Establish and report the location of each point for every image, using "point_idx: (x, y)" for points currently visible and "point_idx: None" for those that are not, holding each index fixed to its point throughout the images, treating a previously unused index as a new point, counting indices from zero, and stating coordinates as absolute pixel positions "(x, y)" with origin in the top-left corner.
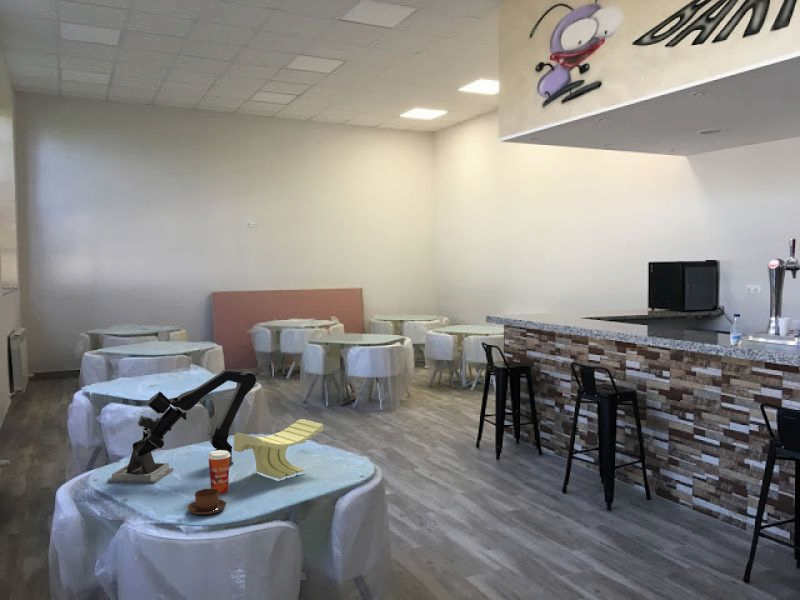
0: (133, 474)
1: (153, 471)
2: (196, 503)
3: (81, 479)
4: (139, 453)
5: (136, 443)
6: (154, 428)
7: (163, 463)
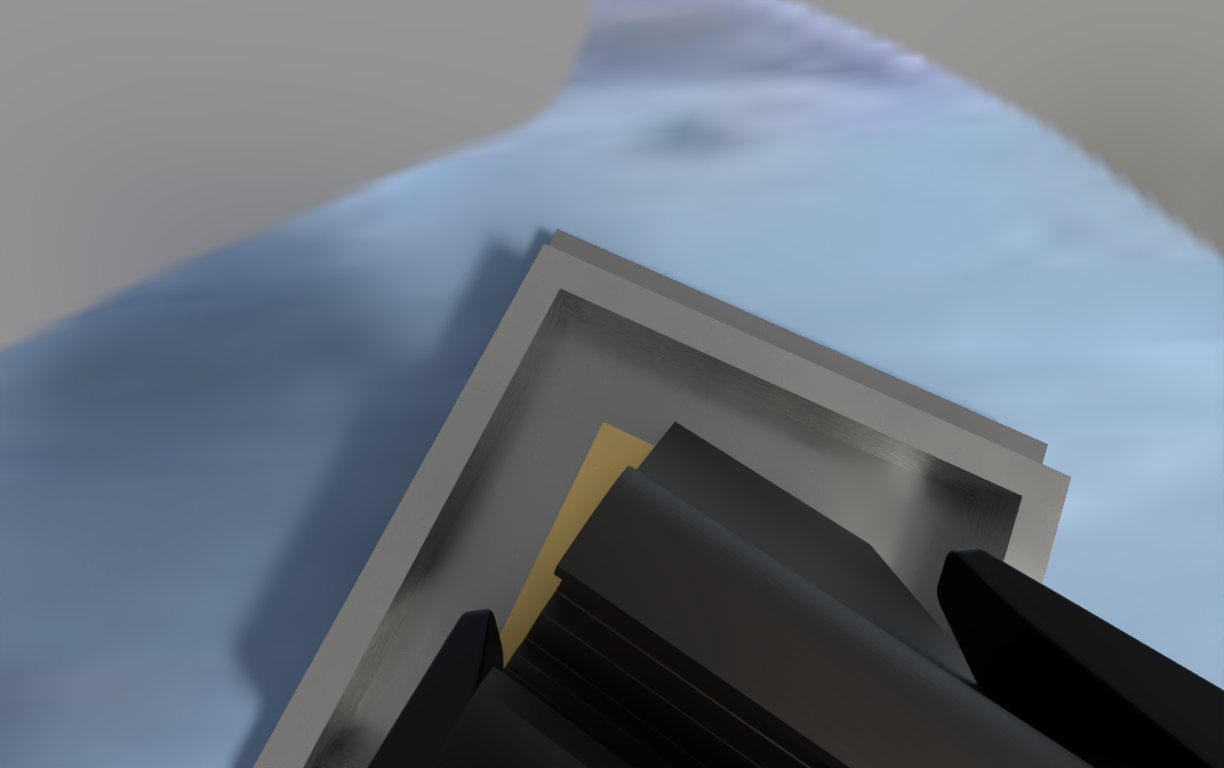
0: (397, 523)
1: None
2: None
3: (749, 20)
4: (434, 684)
5: (790, 622)
6: None
7: None
